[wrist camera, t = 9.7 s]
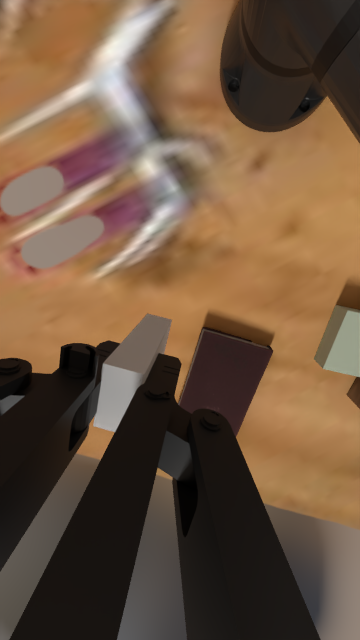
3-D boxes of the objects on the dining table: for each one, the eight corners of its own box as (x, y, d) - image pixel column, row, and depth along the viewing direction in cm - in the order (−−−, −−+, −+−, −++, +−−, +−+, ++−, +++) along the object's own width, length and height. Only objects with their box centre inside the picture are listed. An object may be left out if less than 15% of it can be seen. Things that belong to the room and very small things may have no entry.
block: (334, 304, 41) (347, 310, 37) (384, 314, 41) (402, 322, 37) (313, 358, 44) (322, 368, 40) (358, 368, 44) (372, 380, 40)
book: (270, 345, 44) (275, 352, 41) (234, 429, 50) (236, 441, 47) (203, 324, 45) (203, 330, 42) (175, 410, 51) (172, 421, 48)
